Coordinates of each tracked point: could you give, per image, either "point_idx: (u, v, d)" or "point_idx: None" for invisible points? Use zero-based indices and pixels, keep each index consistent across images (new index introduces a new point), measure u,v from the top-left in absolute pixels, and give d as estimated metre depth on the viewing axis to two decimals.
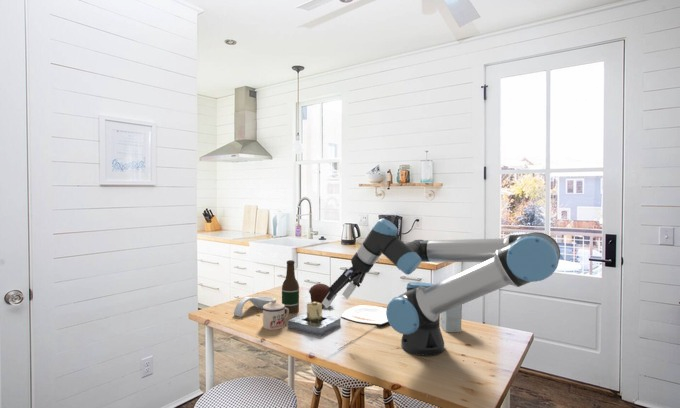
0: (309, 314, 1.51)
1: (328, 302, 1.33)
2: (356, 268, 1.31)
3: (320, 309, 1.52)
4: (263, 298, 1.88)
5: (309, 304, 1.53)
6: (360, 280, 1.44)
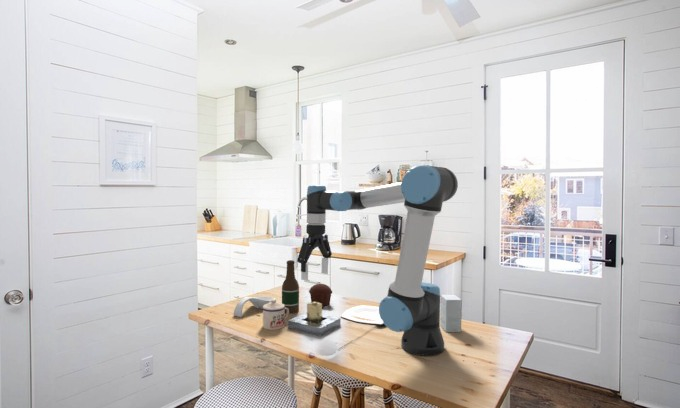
0: (309, 314, 1.51)
1: (305, 274, 1.46)
2: (311, 233, 1.48)
3: (320, 309, 1.52)
4: (262, 298, 1.88)
5: (309, 304, 1.53)
6: (328, 252, 1.59)
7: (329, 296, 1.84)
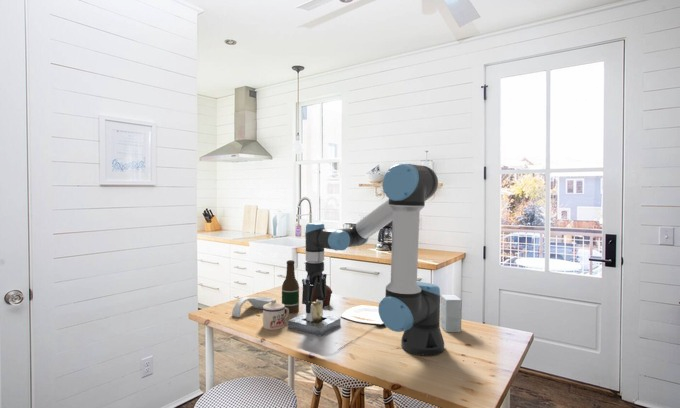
0: None
1: (310, 315, 1.50)
2: (310, 271, 1.50)
3: (320, 309, 1.52)
4: (262, 298, 1.88)
5: None
6: (323, 292, 1.57)
7: (329, 296, 1.84)
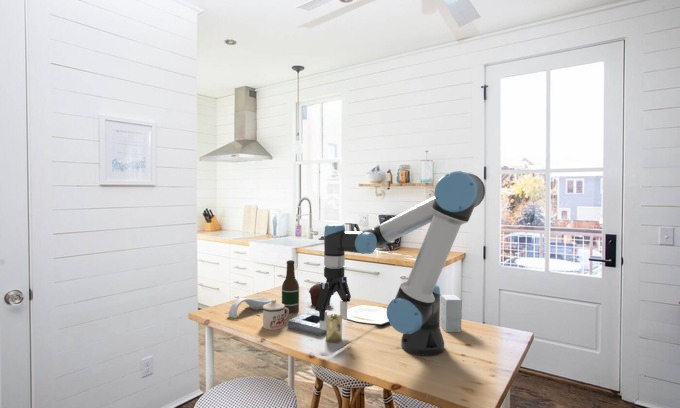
0: (328, 327, 1.38)
1: (324, 323, 1.34)
2: (330, 278, 1.36)
3: (340, 322, 1.39)
4: (259, 299, 1.87)
5: (328, 317, 1.40)
6: (347, 295, 1.46)
7: None
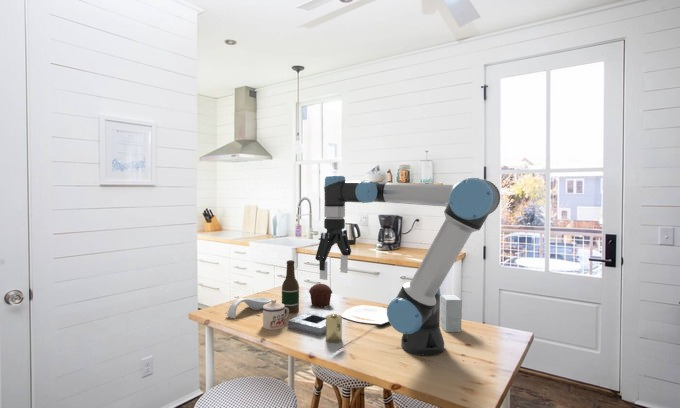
0: (328, 327, 1.38)
1: (324, 273, 1.33)
2: (330, 228, 1.35)
3: (340, 322, 1.39)
4: (258, 299, 1.86)
5: (328, 317, 1.40)
6: (348, 249, 1.46)
7: (329, 296, 1.84)
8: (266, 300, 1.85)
